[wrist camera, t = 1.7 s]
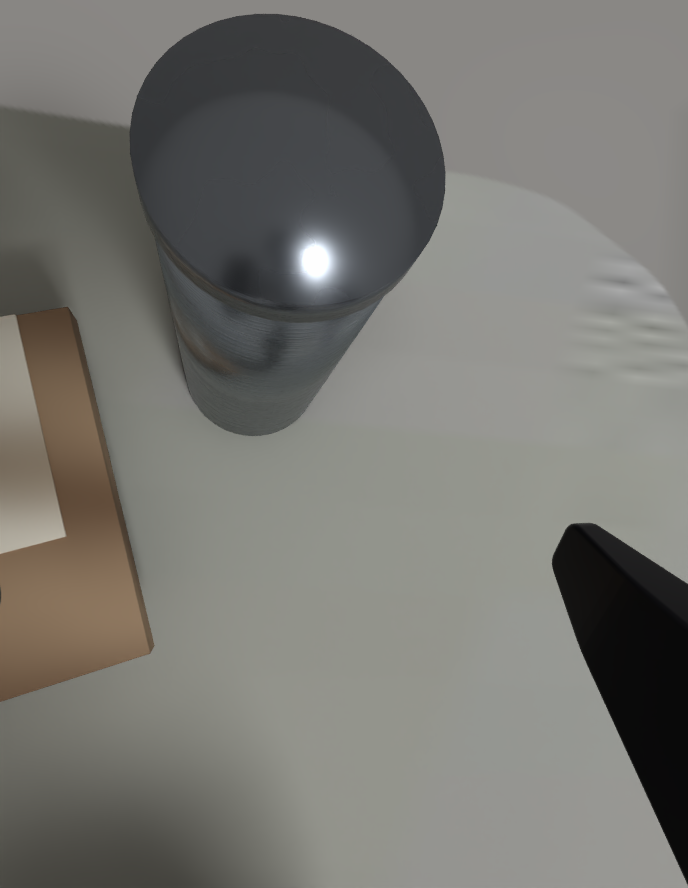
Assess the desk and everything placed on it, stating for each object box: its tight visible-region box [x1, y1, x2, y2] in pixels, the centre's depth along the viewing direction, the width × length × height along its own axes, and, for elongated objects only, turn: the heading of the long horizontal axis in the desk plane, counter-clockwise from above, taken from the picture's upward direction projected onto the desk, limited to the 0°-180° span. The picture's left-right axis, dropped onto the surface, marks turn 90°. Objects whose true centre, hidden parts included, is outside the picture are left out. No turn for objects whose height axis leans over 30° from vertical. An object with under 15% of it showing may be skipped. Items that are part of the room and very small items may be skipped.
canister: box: [130, 14, 445, 436], centre depth 16 cm, size 5×5×13 cm
